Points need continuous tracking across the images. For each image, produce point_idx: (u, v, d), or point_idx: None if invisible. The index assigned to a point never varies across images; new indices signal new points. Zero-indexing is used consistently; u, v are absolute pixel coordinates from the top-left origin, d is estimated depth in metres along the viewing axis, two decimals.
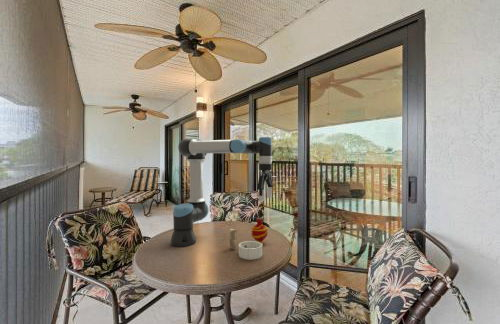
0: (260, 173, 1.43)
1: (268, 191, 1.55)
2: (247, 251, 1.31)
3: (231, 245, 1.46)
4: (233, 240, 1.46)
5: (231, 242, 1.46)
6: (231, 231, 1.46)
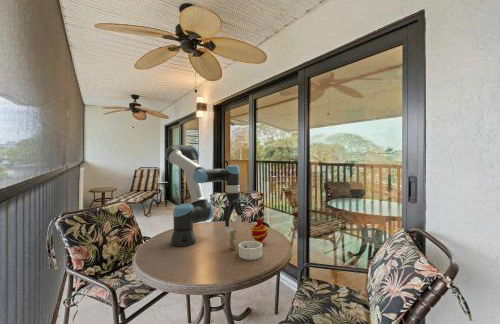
0: (226, 203, 1.40)
1: (237, 219, 1.53)
2: (247, 251, 1.31)
3: (231, 245, 1.46)
4: (233, 240, 1.46)
5: (231, 242, 1.46)
6: (231, 231, 1.46)
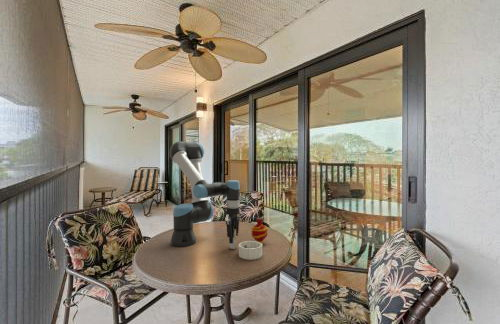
0: (227, 222, 1.41)
1: None
2: (247, 251, 1.31)
3: None
4: None
5: None
6: None
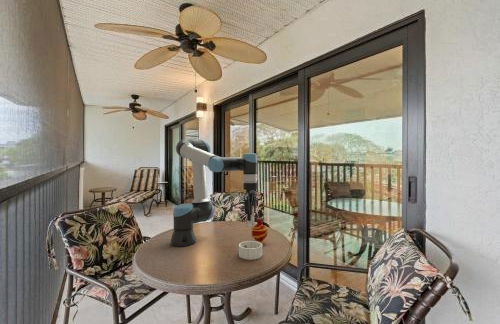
0: (244, 198, 1.31)
1: None
2: (247, 251, 1.31)
3: None
4: None
5: None
6: None
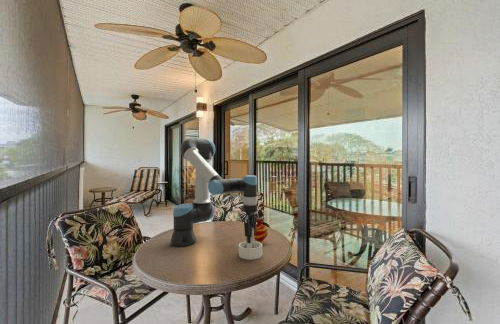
0: (244, 221, 1.31)
1: None
2: (247, 251, 1.31)
3: None
4: None
5: None
6: None
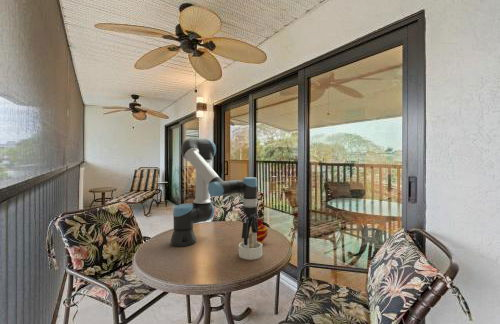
0: (244, 220, 1.31)
1: None
2: (247, 251, 1.31)
3: None
4: (250, 244, 1.36)
5: None
6: None
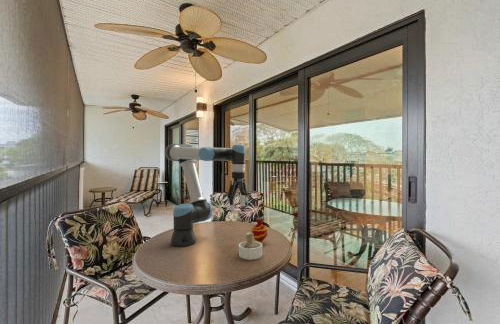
0: (231, 182, 1.41)
1: (241, 199, 1.53)
2: (247, 251, 1.31)
3: None
4: (250, 244, 1.36)
5: (248, 246, 1.36)
6: (248, 235, 1.36)
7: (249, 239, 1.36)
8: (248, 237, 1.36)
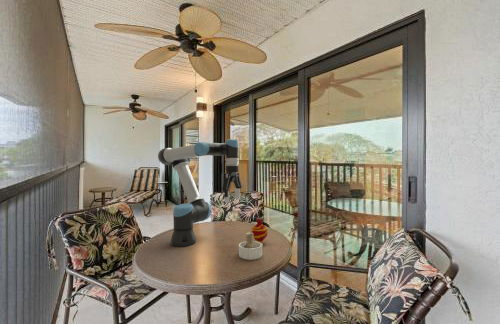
0: (226, 175, 1.46)
1: (236, 192, 1.58)
2: (247, 251, 1.31)
3: None
4: (250, 244, 1.36)
5: (248, 246, 1.36)
6: (248, 235, 1.36)
7: (249, 239, 1.36)
8: (248, 237, 1.36)
